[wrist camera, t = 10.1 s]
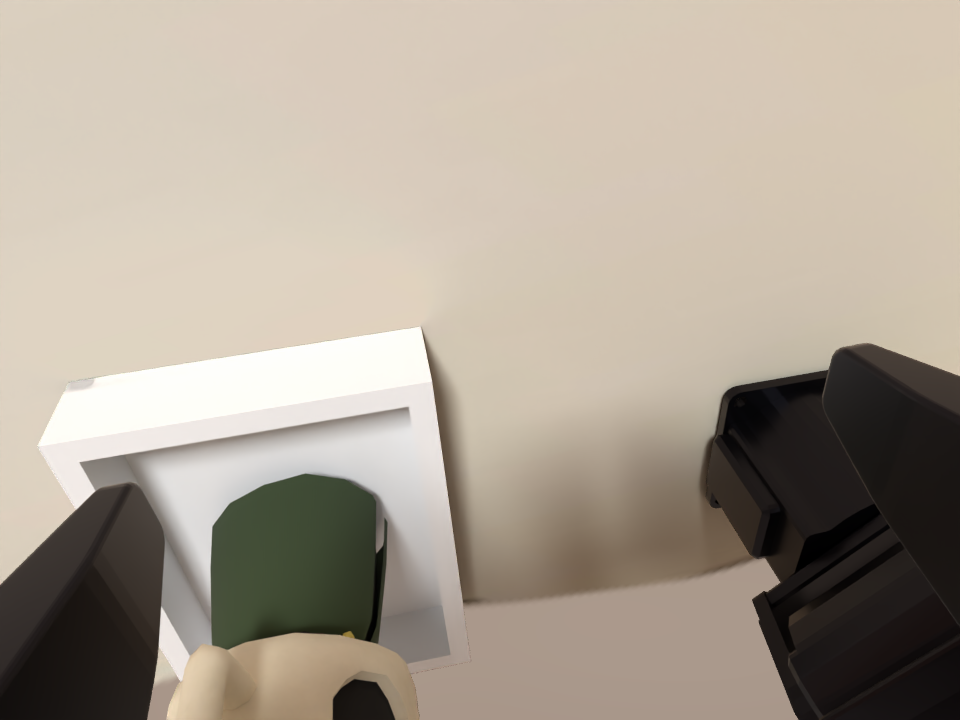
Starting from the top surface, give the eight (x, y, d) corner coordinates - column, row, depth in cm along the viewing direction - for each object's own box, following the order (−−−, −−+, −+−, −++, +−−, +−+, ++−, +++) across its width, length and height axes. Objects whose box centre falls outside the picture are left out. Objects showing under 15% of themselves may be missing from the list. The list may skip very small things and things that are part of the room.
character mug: (434, 575, 30) (494, 964, 19) (276, 627, 30) (249, 1042, 19) (336, 387, 23) (346, 822, 13) (132, 454, 23) (-23, 941, 13)
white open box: (420, 326, 23) (432, 381, 21) (460, 601, 32) (471, 661, 29) (68, 381, 22) (37, 446, 19) (211, 650, 31) (202, 717, 28)
